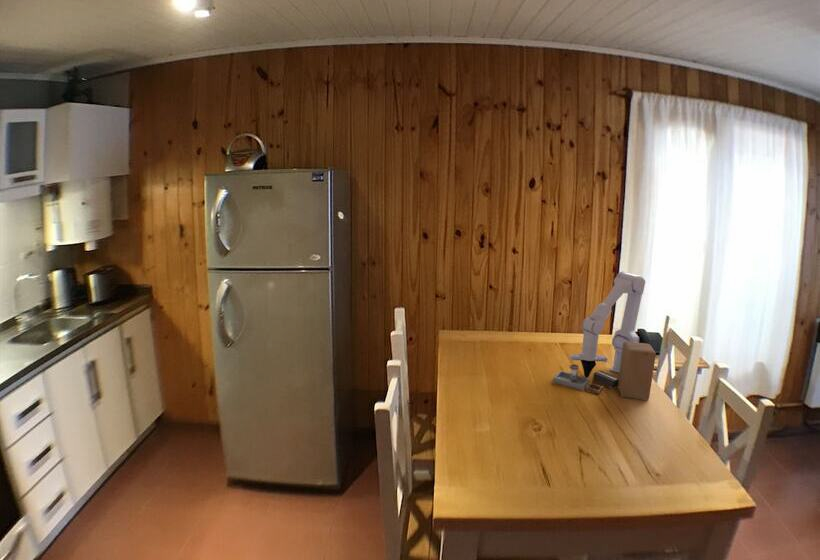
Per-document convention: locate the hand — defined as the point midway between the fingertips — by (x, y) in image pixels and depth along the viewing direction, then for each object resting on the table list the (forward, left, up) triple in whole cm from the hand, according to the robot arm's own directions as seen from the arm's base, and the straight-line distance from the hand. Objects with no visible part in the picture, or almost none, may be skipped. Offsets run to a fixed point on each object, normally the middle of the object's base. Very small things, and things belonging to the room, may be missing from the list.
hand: (586, 376), depth 189 cm
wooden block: (-19, +2, -1) cm, 19 cm away
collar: (-6, +8, -1) cm, 10 cm away
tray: (+4, +8, -1) cm, 9 cm away
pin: (+3, +7, 0) cm, 8 cm away
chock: (-8, -1, -1) cm, 8 cm away
